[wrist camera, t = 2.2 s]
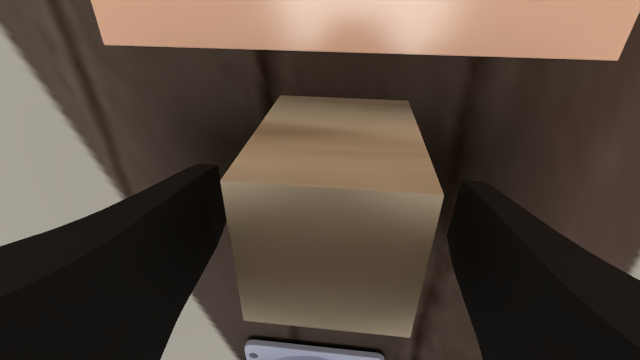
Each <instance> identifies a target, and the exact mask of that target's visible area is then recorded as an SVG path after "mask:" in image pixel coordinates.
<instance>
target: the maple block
mask: <svg viewBox="0 0 640 360" xmlns="http://www.w3.org/2000/svg"><path fill="white" fill-rule="evenodd" d="M220 183H221V189H222V195H223V201H224V207H225V212H226V218H227V224H228V230H229V236H230V242H231V248H232V254H233V260H234V266H235V272H236V278H237V284H238V290H239V296H240V302H241V308H242V314H243V319H244V321H252V322H261V323H271V324H281V325H291V326H301V327H310V328H320V329H330V330H340V331H349V332H359V333H369V334H379V335H388V336H398V337H408V338H410V336H411V332H412V327H413V323H414V319H415V315H416V311H417V307H418V302H419V298H420V294H421V290H422V286H423V282H424V277H425V273H426V269H427V265H428V261H429V257H430V252H431V248H432V244H433V240H434V236H435V232H436V227H437V223H438V219H439V215H440V211H441V207H442V202H443V198H444V194H443V191H442V188H441V186H440V183H439V180H438V178H437V175H436V172H435V170H434V167H433V165H432V162H431V159H430V157H429V154H428V151H427V149H426V146H425V144H424V141H423V138H422V136H421V133H420V130H419V128H418V125H417V123H416V120H415V117H414V115H413V112H412V109H411V107H410V104H409V101H404V100H380V99H356V98H333V97H309V96H285V95H280V97H279V98H278V99H277V101H276V102H275V104H274V105H273V107H272V108H271V109H270V111H269V112H268V114H267V115H266V116H265V118H264V119H263V121H262V122H261V124H260V125H259V126H258V128H257V129H256V131H255V132H254V133H253V135H252V136H251V138H250V139H249V141H248V142H247V143H246V145H245V146H244V148H243V149H242V150H241V152H240V153H239V155H238V156H237V158H236V159H235V160H234V162H233V163H232V165H231V166H230V167H229V169H228V170H227V172H226V173H225V175H224V176H223V177H222V179H221V180H220Z"/></svg>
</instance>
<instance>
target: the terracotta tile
mask: <svg viewBox="0 0 640 360" xmlns="http://www.w3.org/2000/svg"><path fill="white" fill-rule="evenodd" d="M91 2H92V6H93V9H94V12H95V16H96V19H97V22H98V26H99V29H100V32H101V36H102V39H103V42H104V45H123V46H156V47H189V48H222V49H255V50H288V51H321V52H354V53H387V54H420V55H453V56H486V57H519V58H552V59H585V60H618V59H619V56H620V54H621V52H622V50H623V48H624V45H625V43H626V41H627V39H628V36H629V34H630V32H631V30H632V27H633V25H634V23H635V21H636V19H637V16H638V14H639V12H640V0H91Z"/></svg>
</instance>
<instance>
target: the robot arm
mask: <svg viewBox="0 0 640 360" xmlns="http://www.w3.org/2000/svg"><path fill="white" fill-rule="evenodd" d="M226 220H227V218H226V212H225V207H224V201H223V195H222V189H221V183H220V174H219V168H218V165H209V164H197V165H194V166H192V167H189V168H187V169H185V170H183V171H181V172H179V173H177V174H175V175H173V176H171V177H169V178H167V179H165V180H163V181H161V182H159V183H157V184H155V185H153V186H151V187H149V188H147V189H145V190H143V191H141V192H139V193H137V194H135V195H133V196H131V197H129V198H127V199H124V200H122V201H120V202H118V203H116V204H114V205H112V206H110V207H107V208H105V209H104V210H101V211H98V212H96V213H94V214H91V215H89V216H87V217H84V218H82V219H79V220H76V221H74V222H71V223H69V224H66V225H63V226H61V227H58V228H56V229H53V230H50V231H47V232H44V233H41V234H38V235H34V236H31V237H28V238H25V239H22V240H19V241H16V242H13V243H10V244H7V245H4V246H1V247H0V360H160V359H161V356H162V354H163V352H164V349H165V347H166V344H167V342H168V340H169V337H170V335H171V333H172V330H173V328H174V326H175V323H176V321H177V319H178V317H179V315H180V313H181V311H182V309H183V307H184V305H185V304H186V302H187V300H188V298H189V296H190V295H191V293H192V291H193V289H194V287H195V286H196V284H197V282H198V280H199V278H200V277H201V275H202V273H203V271H204V269H205V267H206V266H207V264H208V262H209V260H210V258H211V256H212V255H213V253H214V251H215V249H216V247H217V245H218V242H219V240H220V237H221V234H222V232H223V229H224V226H225V223H226ZM447 238H448V244H449V250H450V255H451V260H452V265H453V268H454V272H455V275H456V278H457V281H458V284H459V287H460V290H461V293H462V296H463V299H464V301H465V304H466V307H467V310H468V313H469V316H470V319H471V322H472V325H473V328H474V331H475V334H476V337H477V340H478V343H479V347H480V350H481V353H482V357H483V360H640V280H638V279H636V278H634V277H632V276H631V275H629V274H627V273H625V272H623V271H622V270H620V269H618V268H616V267H614V266H613V265H611V264H609V263H607V262H605V261H603V260H602V259H600V258H598V257H597V256H595V255H593V254H592V253H590V252H588V251H587V250H585V249H583V248H582V247H580V246H579V245H577V244H576V243H574V242H572V241H571V240H569V239H568V238H566V237H565V236H563V235H561V234H560V233H558V232H557V231H555V230H554V229H552V228H551V227H549V226H548V225H546V224H545V223H544V222H542V221H541V220H539V219H538V218H536V217H535V216H534V215H532V214H531V213H529V212H528V211H527V210H525V209H524V208H522V207H521V206H520V205H518V204H517V203H515V202H514V201H513V200H511V199H510V198H508V197H507V196H506V195H504V194H503V193H501V192H500V191H498V190H497V189H496V188H494V187H493V186H491V185H489V184H488V183H486V182H483V181H467V180H462V182H461V186H460V189H459V193H458V197H457V201H456V204H455V208H454V212H453V215H452V219H451V223H450V227H449V230H448V234H447ZM245 355H246V360H384V356H383V355H381V354H380V353H375V352H366V351H356V350H347V349H338V348H329V347H319V346H310V345H301V344H292V343H282V342H273V341H264V340H254V339H251V340H248V341H247V342H246V345H245Z"/></svg>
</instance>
